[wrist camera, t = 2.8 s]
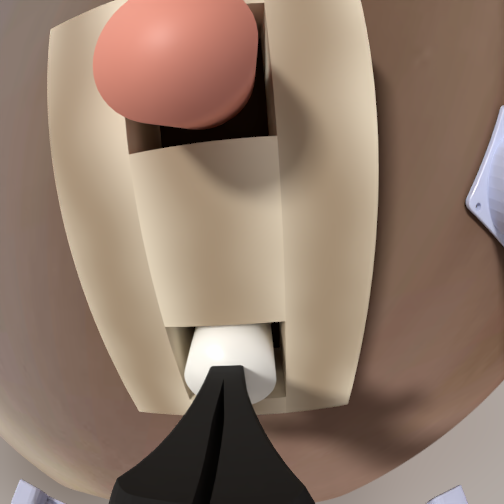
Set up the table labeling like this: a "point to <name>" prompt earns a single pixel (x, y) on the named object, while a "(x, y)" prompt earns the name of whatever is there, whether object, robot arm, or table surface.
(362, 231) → the press housing
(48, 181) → the table surface
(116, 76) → the pink rounded plug
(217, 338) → the ivory plunger
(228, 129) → the table surface
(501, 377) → the table surface
